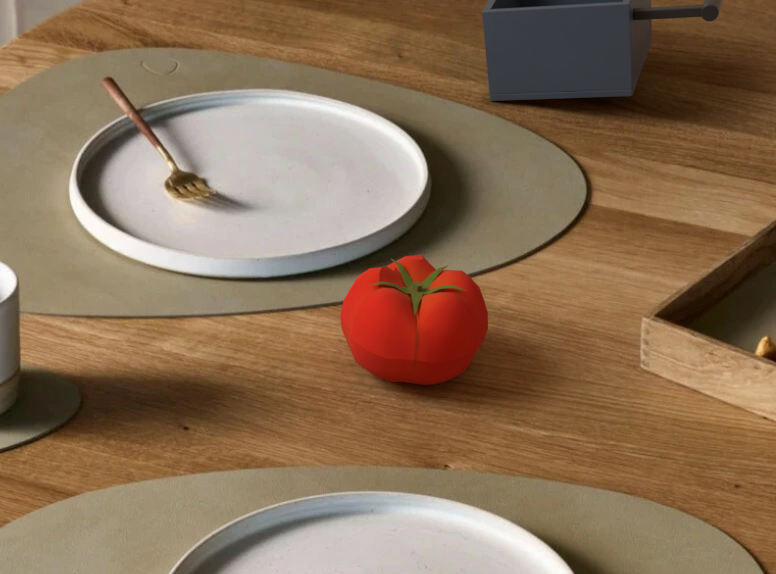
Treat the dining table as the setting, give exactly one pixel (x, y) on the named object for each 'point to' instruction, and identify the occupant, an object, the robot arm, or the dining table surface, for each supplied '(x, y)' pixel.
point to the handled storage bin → (572, 45)
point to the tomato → (414, 321)
